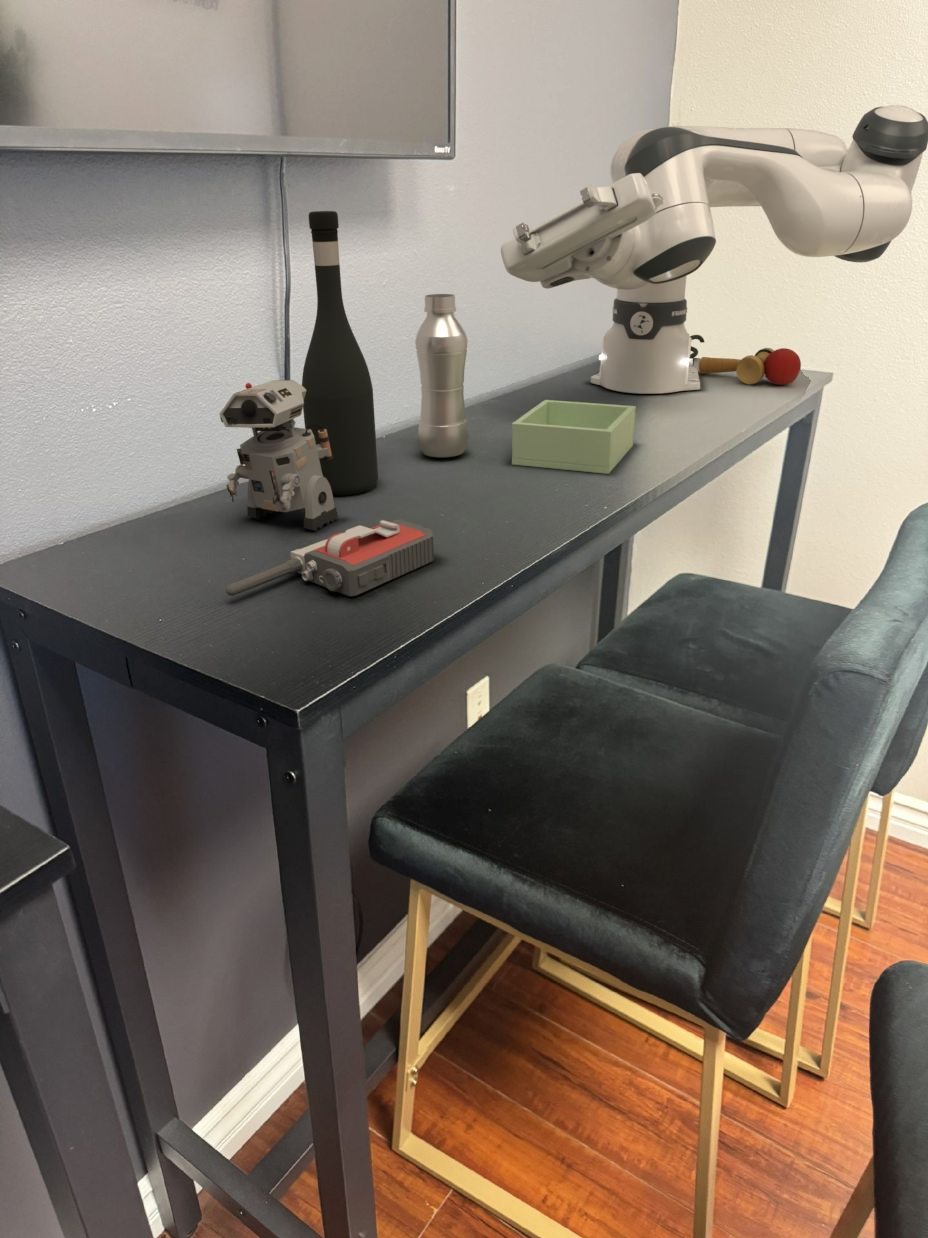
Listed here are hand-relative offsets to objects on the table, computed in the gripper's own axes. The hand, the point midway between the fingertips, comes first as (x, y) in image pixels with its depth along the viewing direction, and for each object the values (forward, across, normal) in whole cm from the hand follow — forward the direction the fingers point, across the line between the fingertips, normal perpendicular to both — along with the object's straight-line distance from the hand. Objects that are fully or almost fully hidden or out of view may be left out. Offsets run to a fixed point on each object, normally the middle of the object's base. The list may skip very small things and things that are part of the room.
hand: (551, 212), depth 108 cm
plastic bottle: (+2, +23, -23) cm, 32 cm away
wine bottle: (+18, +28, -25) cm, 42 cm away
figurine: (+31, +28, -30) cm, 51 cm away
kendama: (-60, -5, -17) cm, 63 cm away
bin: (-6, +8, -27) cm, 29 cm away
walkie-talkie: (+39, +16, -38) cm, 57 cm away
